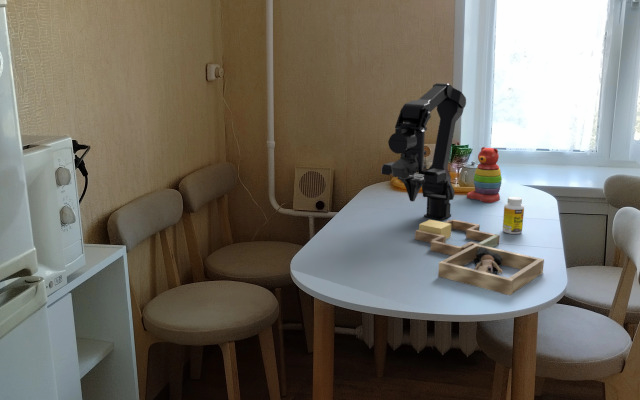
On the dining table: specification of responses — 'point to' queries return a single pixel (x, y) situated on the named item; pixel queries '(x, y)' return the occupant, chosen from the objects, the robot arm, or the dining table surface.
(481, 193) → the stacking bear
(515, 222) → the supplement bottle
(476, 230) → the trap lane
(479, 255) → the toy figure
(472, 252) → the fence
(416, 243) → the dining table surface
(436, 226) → the block
